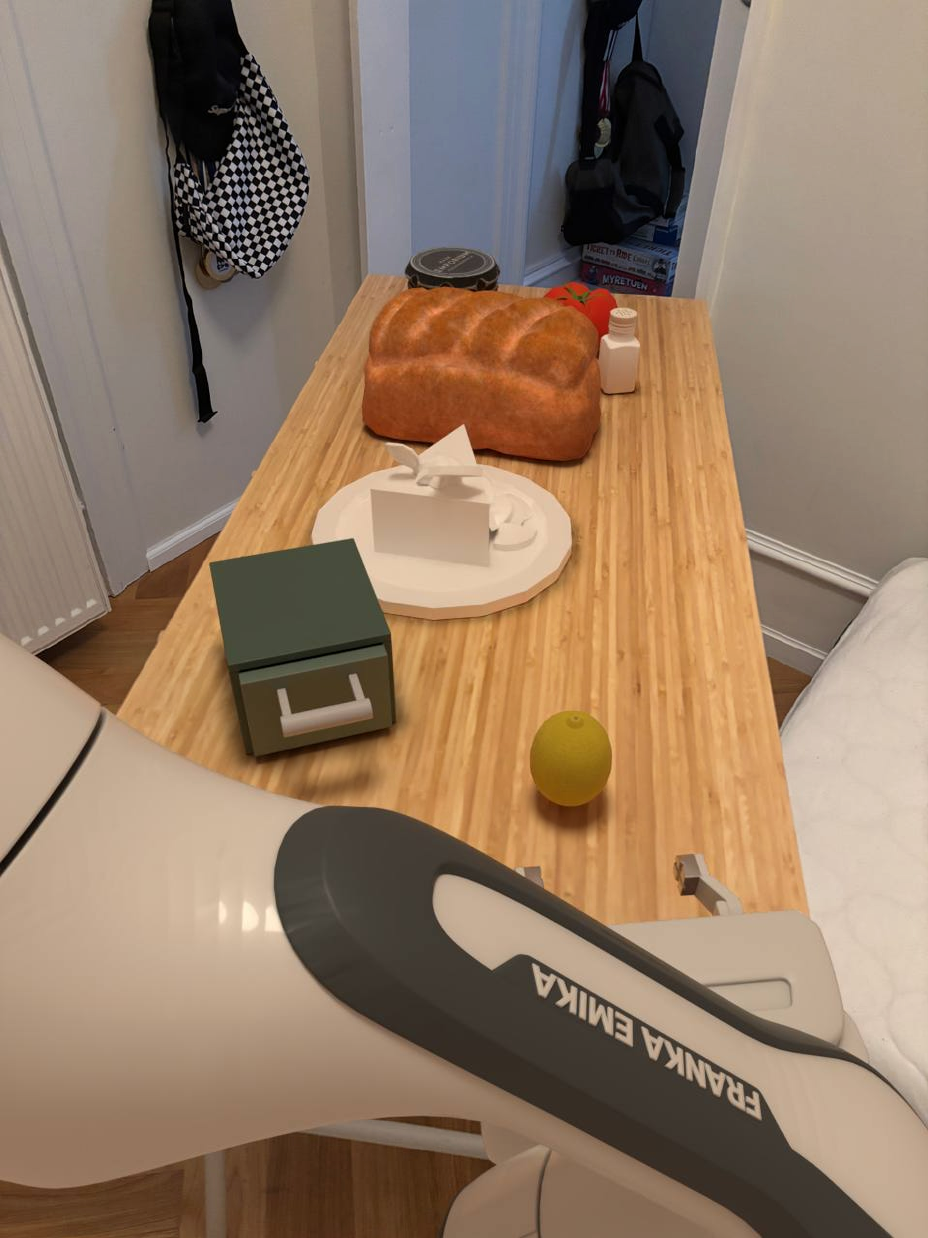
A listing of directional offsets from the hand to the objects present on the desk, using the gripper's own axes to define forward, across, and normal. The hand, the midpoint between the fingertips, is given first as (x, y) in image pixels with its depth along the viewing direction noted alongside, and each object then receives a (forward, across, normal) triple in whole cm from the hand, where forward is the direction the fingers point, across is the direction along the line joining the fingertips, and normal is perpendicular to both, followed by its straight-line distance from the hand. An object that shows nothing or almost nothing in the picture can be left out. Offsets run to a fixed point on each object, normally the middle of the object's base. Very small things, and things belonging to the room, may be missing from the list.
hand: (606, 866), depth 54 cm
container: (+92, +1, +6) cm, 92 cm away
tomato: (+87, -15, +6) cm, 88 cm away
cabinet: (+24, +19, +6) cm, 31 cm away
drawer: (+20, +18, +5) cm, 27 cm away
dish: (+43, +6, +6) cm, 44 cm away
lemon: (+10, 0, +6) cm, 12 cm away
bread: (+65, 0, +6) cm, 66 cm away
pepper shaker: (+74, -18, +6) cm, 76 cm away
